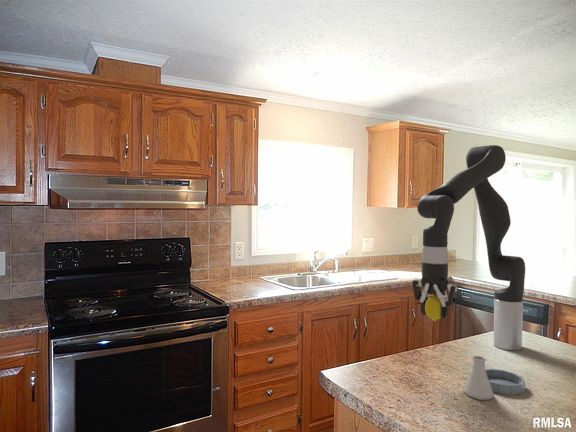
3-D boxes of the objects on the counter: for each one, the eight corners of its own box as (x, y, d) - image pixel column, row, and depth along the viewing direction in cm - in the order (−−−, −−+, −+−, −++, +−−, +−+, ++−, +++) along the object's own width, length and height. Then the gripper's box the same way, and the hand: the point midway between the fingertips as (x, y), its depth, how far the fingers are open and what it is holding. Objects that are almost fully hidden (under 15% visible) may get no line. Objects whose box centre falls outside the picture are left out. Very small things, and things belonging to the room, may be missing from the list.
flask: (479, 402, 105) (480, 364, 105) (457, 391, 111) (458, 354, 111) (499, 398, 108) (500, 360, 108) (477, 387, 114) (477, 351, 114)
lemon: (420, 319, 126) (421, 294, 125) (434, 318, 128) (435, 292, 128) (433, 324, 120) (433, 297, 120) (448, 322, 123) (448, 296, 122)
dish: (487, 374, 124) (487, 365, 124) (530, 386, 115) (530, 377, 115) (471, 384, 116) (471, 376, 116) (515, 398, 107) (515, 389, 107)
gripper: (463, 262, 121) (463, 319, 121) (419, 258, 132) (419, 310, 132) (452, 264, 116) (451, 323, 116) (407, 259, 127) (406, 314, 127)
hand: (434, 316), depth 124 cm, fingers closed on lemon, 5 cm apart
